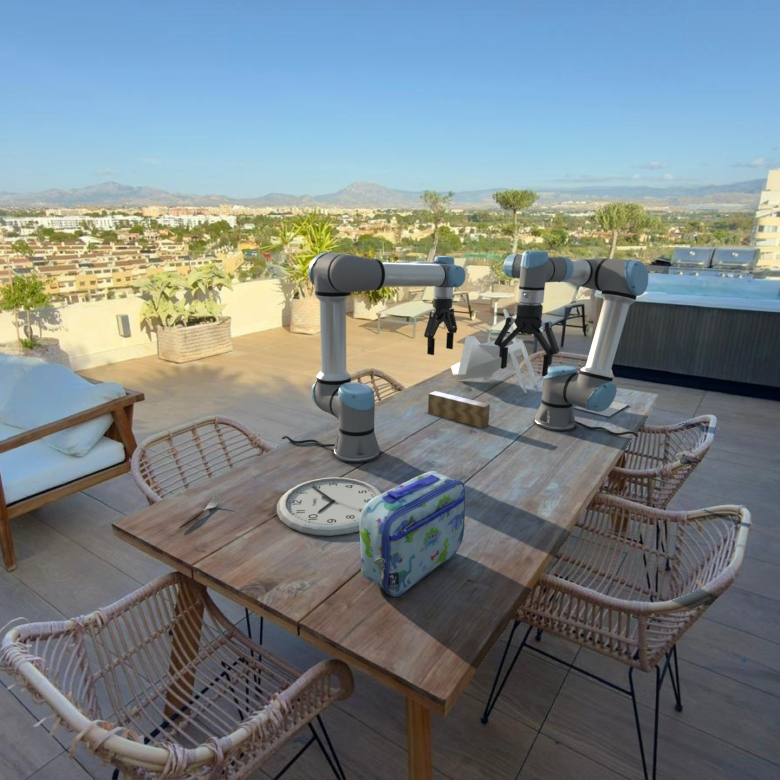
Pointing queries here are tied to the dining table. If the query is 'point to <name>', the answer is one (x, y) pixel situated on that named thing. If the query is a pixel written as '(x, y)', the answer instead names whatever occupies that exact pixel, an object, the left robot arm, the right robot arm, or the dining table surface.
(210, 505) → the fork
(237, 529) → the dining table surface
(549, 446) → the dining table surface
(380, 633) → the dining table surface
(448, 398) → the bar
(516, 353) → the white plastic object
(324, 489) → the wall clock
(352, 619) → the dining table surface
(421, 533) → the lunch box
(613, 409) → the invitation card
